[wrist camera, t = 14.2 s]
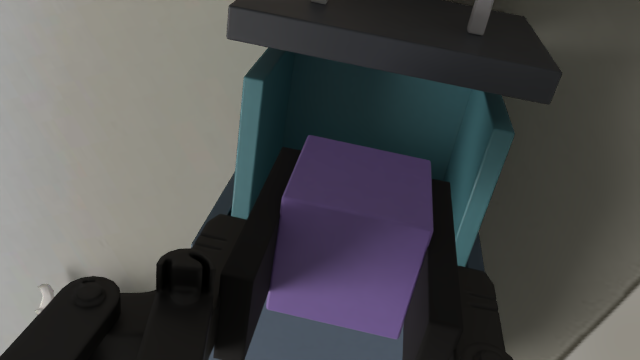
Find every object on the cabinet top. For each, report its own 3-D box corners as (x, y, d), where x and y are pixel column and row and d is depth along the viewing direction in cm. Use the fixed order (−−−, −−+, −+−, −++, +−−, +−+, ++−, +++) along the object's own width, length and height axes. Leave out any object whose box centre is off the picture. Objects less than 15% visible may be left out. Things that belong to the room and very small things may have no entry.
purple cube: (308, 133, 18) (281, 196, 14) (431, 159, 18) (434, 230, 14) (291, 233, 20) (264, 310, 16) (402, 258, 20) (398, 341, 16)
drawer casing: (250, 144, 32) (190, 243, 23) (472, 191, 31) (491, 312, 23) (231, 328, 39) (180, 453, 31) (409, 370, 38) (406, 510, 30)
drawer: (293, -167, 23) (241, -178, 16) (570, -116, 22) (634, -107, 16) (251, 208, 33) (207, 298, 26) (444, 251, 32) (450, 355, 25)
